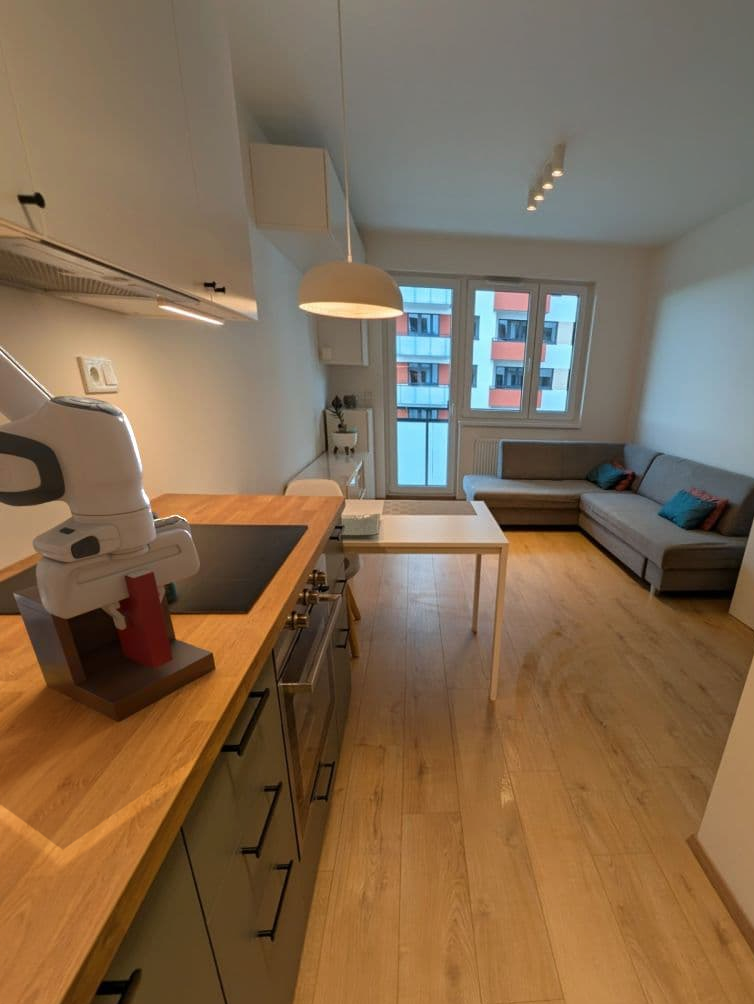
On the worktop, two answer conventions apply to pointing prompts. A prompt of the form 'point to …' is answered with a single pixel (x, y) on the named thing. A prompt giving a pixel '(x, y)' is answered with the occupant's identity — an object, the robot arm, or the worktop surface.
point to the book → (144, 622)
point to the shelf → (104, 659)
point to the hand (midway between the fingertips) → (139, 621)
